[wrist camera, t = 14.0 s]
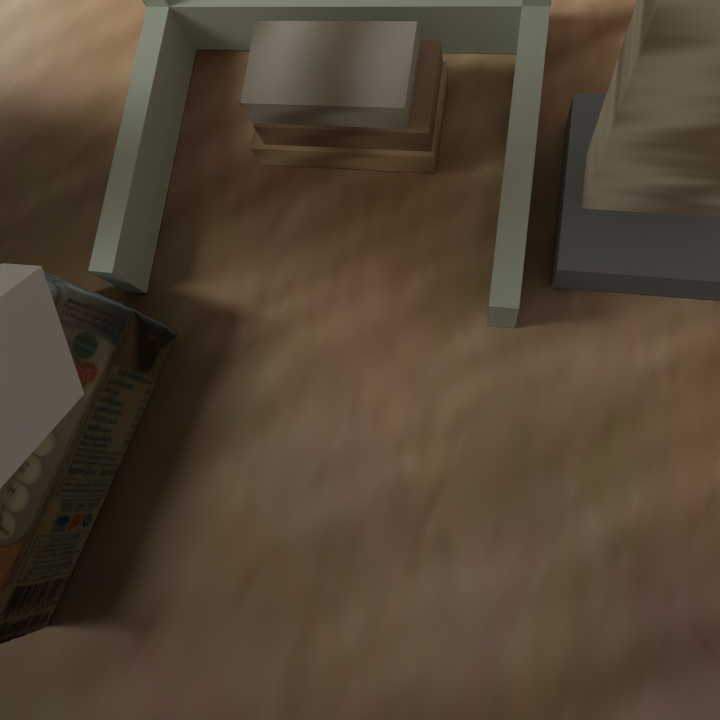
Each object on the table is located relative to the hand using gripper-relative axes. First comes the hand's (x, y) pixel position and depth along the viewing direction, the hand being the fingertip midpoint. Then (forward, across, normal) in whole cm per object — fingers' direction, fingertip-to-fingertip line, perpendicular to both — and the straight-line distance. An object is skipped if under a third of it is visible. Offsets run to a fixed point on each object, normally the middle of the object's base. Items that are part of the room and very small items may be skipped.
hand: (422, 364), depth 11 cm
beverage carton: (+17, -23, -21) cm, 35 cm away
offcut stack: (+32, -8, -5) cm, 33 cm away
